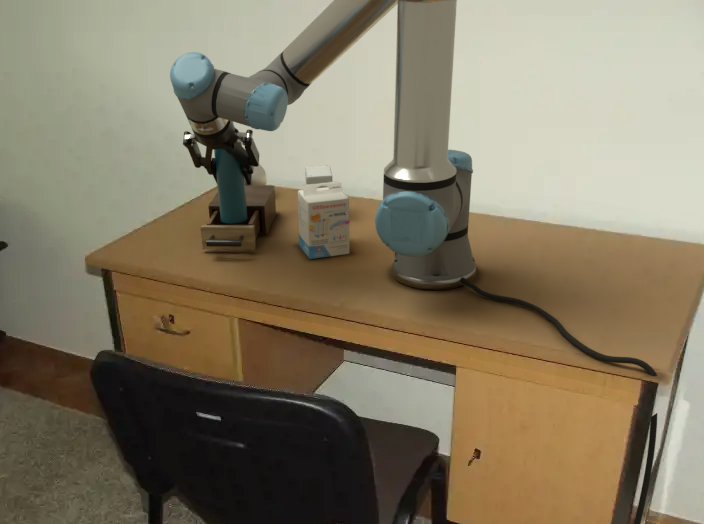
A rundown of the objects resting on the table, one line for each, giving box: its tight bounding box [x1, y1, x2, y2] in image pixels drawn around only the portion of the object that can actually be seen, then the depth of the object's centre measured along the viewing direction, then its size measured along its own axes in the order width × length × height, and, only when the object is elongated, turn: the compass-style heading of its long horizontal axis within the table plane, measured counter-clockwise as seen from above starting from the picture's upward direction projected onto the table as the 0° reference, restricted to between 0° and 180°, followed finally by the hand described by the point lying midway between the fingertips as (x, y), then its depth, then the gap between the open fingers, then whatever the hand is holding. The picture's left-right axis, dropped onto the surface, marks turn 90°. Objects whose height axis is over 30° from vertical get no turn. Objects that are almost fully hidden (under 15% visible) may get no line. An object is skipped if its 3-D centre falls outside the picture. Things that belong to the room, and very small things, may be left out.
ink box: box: [297, 180, 350, 260], centre depth 175 cm, size 9×8×13 cm
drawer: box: [200, 209, 262, 251], centre depth 182 cm, size 17×11×5 cm, turn 170°
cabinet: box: [207, 185, 277, 237], centre depth 192 cm, size 14×12×7 cm
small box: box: [304, 164, 333, 188], centre depth 192 cm, size 8×6×10 cm
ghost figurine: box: [244, 163, 268, 186], centre depth 208 cm, size 9×10×10 cm
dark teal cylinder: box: [213, 139, 247, 224], centre depth 178 cm, size 6×6×17 cm
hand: (234, 179), depth 182 cm, fingers closed on dark teal cylinder, 6 cm apart
